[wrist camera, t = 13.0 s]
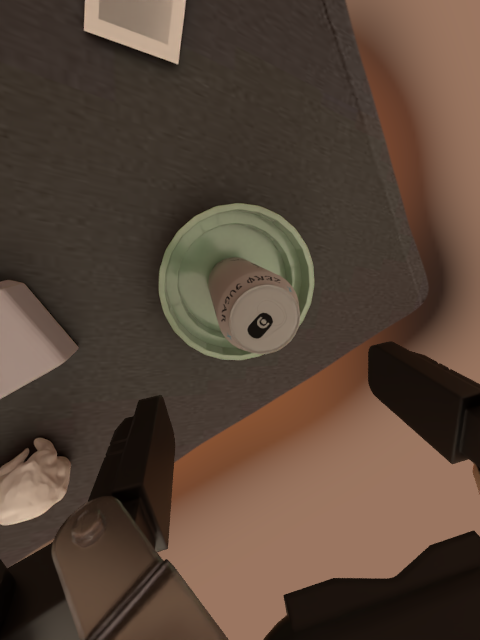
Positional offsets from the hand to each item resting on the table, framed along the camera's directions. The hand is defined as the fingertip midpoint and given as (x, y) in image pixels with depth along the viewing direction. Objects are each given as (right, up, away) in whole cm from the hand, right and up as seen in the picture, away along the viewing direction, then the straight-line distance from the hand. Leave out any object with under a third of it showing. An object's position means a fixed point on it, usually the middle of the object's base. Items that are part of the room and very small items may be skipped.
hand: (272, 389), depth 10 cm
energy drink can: (-2, +7, +22) cm, 23 cm away
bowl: (-2, +7, +22) cm, 23 cm away
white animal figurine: (-29, -16, +25) cm, 41 cm away
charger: (-27, +4, +19) cm, 34 cm away
